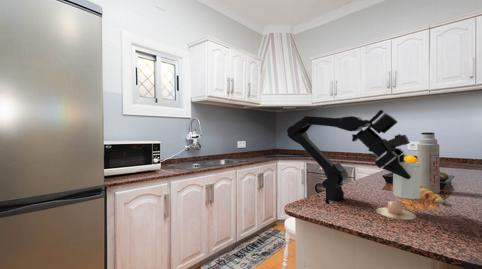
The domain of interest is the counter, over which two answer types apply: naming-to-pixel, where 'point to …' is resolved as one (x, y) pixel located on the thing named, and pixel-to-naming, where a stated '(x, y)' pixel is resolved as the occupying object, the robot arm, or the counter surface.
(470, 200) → the counter surface
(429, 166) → the thermos bottle
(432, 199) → the croissant
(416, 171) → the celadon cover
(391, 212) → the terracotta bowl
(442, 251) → the counter surface
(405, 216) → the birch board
